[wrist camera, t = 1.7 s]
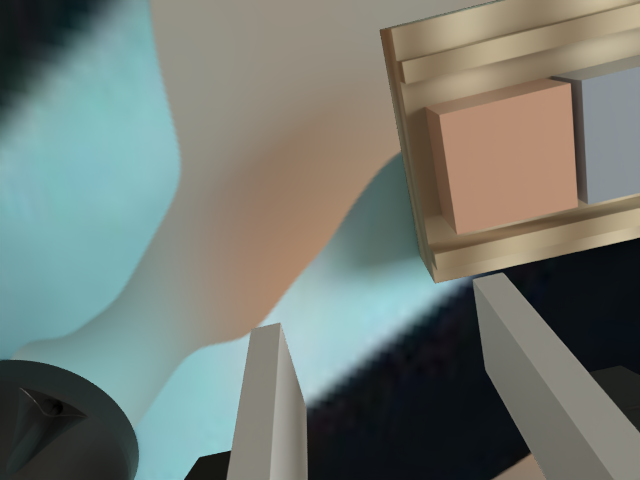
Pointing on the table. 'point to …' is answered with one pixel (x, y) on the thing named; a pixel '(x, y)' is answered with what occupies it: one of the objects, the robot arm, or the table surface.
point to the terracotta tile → (504, 154)
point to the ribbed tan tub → (490, 74)
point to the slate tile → (606, 128)
